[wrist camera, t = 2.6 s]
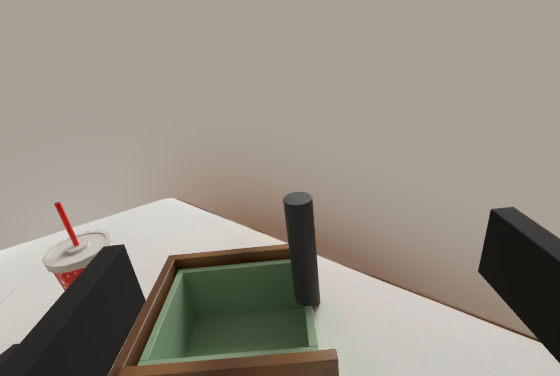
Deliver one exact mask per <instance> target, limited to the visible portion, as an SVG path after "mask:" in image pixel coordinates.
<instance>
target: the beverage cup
mask: <svg viewBox="0 0 560 376" xmlns="http://www.w3.org/2000/svg"><path fill="white" fill-rule="evenodd" d="M55 206H56V208H57V211H58V213H59V215H60V217H61V219H62V221H63V223H64V225H65V227H66V230H67V232H68V234H69V236H70V238H67V239H65V240H63V241H61V242H60V243H58V244H56V245H55V246H53V247H52V248H51V249H50V250H49V251H47V252H46V253H45V255H44V257H43V259H42V261H43V263H44V265H45V266H46V268H47V269H48V271H49V272H53V273H54V275H55V276H56V278H57V279H58V281H59V282H60V284H61V285H62V287H63V289H64V290H65V291H66V289H67V288H68V287H69V286H70V285H71V284H72V282H73V281H74V280H75V279H76V278H77V277H78V275H79V274H80V273H81V272H82V271H83V270H84V268H85V267H86V266H87V265H88V264H89V263H90V261H91V260H92V259H93V258H94V257H95V256H96V255H97V253H98V252H99V251H100V250H101V249H102V248H103V246H112V240H111V235H110V234H109V233H107V232H106V231H100V230H97V231H88V232H84V233H81V234H77V235H75V233H74V231H73V229H72V227H71V225H70V223H69V220H68V218H67V216H66V214H65V212H64V210H63V207H62V205H61V203H60V202H58V203H55Z"/></svg>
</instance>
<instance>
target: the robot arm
mask: <svg viewBox="0 0 560 376" xmlns="http://www.w3.org/2000/svg"><path fill="white" fill-rule="evenodd" d="M478 272H479V273H480V274H481V275H482V276H483V277H484V279H485V280H486V281H487V282H488V283H489V284H490V285H491V287H492V288H493V289H494V290H495V291H496V292H497V293H498V294H499V296H500V297H501V298H502V299H503V300H504V301H505V302H506V303H507V305H508V306H509V307H510V308H511V309H512V310H513V311H514V312H515V313H516V315H517V316H518V317H519V318H520V319H521V320H522V321H523V323H524V324H525V325H526V326H527V327H528V328H529V329H530V330H531V331H532V333H533V334H534V335H535V336H536V337H537V338H538V339H539V341H540V342H541V343H542V344H543V345H544V346H545V347H546V348H547V350H548V351H549V352H550V353H551V354H552V355H553V356H554V357H555V359H556V360H557V361H558V362H559V363H560V239H559V238H558V237H556V236H555V235H553V234H552V233H550V232H549V231H548V230H546V229H545V228H543V227H542V226H540V225H538V224H537V223H536V222H534V221H533V220H532V219H530V218H529V217H527V216H526V215H524V214H523V213H521V212H519V211H518V210H517V209H515V208H514V207H509V208H498V209H491V211H490V217H489V221H488V226H487V231H486V236H485V241H484V246H483V250H482V256H481V260H480V265H479V270H478ZM145 302H146V300H145V298H144V295H143V293H142V290H141V287H140V285H139V282H138V280H137V277H136V274H135V272H134V269H133V267H132V264H131V261H130V259H129V256H128V254H127V251H126V248H125V246H124V244H123V245H112V246H103V248H102V249H101V250H100V251H99V252H98V253H97V255H96V256H95V257H94V258H93V259H92V260H91V261H90V263H89V264H88V265H87V266H86V267H85V268H84V270H83V271H82V272H81V273H80V274H79V275H78V277H77V278H76V279H75V280H74V281H73V282H72V284H71V285H70V286H69V287H68V288H67V289H66V291H65V292H64V293H63V294H62V295H61V296H60V298H59V299H58V300H57V301H56V302H55V303H54V305H53V306H52V307H51V308H50V309H49V310H48V312H47V313H46V314H45V315H44V316H43V317H42V319H41V320H40V321H39V322H38V323H37V324H36V326H35V327H34V328H33V329H32V330H31V331H30V332H29V334H28V335H27V336H26V337H25V338H24V339H23V341H22V342H21V343H20V344H14V345H12V346H11V347H10V348H8V349H7V350H6V351H5V352H3V353H2V354H1V355H0V376H108V374H109V372H110V370H111V368H112V366H113V364H114V362H115V360H116V358H117V356H118V354H119V352H120V350H121V348H122V347H123V345H124V343H125V341H126V339H127V337H128V335H129V333H130V331H131V329H132V327H133V325H134V323H135V321H136V319H137V317H138V315H139V313H140V311H141V309H142V307H143V305H144V303H145Z"/></svg>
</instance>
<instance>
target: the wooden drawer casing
mask: <svg viewBox="0 0 560 376" xmlns="http://www.w3.org/2000/svg"><path fill="white" fill-rule="evenodd" d="M316 255H317V253H316ZM284 259H290V253H289V245H288V244H283V245H273V246H263V247H253V248H242V249H232V250H222V251H212V252H202V253H191V254H181V255H171V256H169V257H168V259H167V261H166V263H165V265H164V267H163V269H162V271H161V273H160V275H159V277H158V279H157V281H156V283H155V285H154V287H153V288H152V290H151V292H150V294H149V296H148V298H147V300H146V302H145V304H144V306H143V308H142V310H141V312H140V314H139V316H138V318H137V320H136V322H135V324H134V326H133V328H132V330H131V332H130V334H129V336H128V338H127V340H126V342H125V344H124V346H123V348H122V350H121V352H120V354H119V355H118V357H117V359H116V361H115V363H114V365H113V367H112V369H111V371H110V373H109V375H108V376H339V369H338V357H337V352H336V349H330V350H319V351H307V352H295V353H283V354H271V355H260V356H248V357H236V358H224V359H212V360H201V361H189V362H177V363H165V364H153V365H141V366H137V365H138V362H139V360H140V358H141V356H142V353H143V351H144V349H145V346H146V344H147V342H148V340H149V337H150V335H151V333H152V330H153V328H154V326H155V323H156V321H157V319H158V316H159V314H160V312H161V310H162V307H163V305H164V303H165V300H166V298H167V296H168V293H169V291H170V289H171V286H172V284H173V282H174V280H175V277H176V275H177V272H178V270H180V269H190V268H201V267H211V266H221V265H232V264H242V263H252V262H263V261H273V260H284ZM317 268H318V266H317ZM318 281H319V280H318ZM319 294H320V293H319ZM316 304H320V298H319V300H318V302H317V303H316Z"/></svg>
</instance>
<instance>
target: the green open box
mask: <svg viewBox="0 0 560 376" xmlns="http://www.w3.org/2000/svg"><path fill="white" fill-rule="evenodd" d="M283 202H284V211H285V219H286V227H287V236H288V245H289V253H290V259H284V260H273V261H263V262H252V263H242V264H232V265H221V266H211V267H201V268H190V269H180V270H178V272H177V275H176V277H175V280H174V282H173V284H172V286H171V289H170V291H169V293H168V296H167V298H166V300H165V303H164V305H163V307H162V310H161V312H160V314H159V316H158V319H157V321H156V323H155V326H154V328H153V330H152V333H151V335H150V337H149V340H148V342H147V344H146V346H145V349H144V351H143V353H142V356H141V358H140V360H139V362H138V365H137V366H141V365H153V364H165V363H177V362H189V361H201V360H212V359H224V358H236V357H248V356H260V355H271V354H283V353H295V352H307V351H318V345H317V338H316V330H315V323H314V316H313V308H312V305H314V304H316V303H317V302H318V300H319V298H320V294H319V281H318V268H317V255H316V241H315V229H314V216H313V202H312V196H311V195H310V194H308V193H305V192H295V193H291V194H288V195H286V196H285V197H284V199H283Z"/></svg>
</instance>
